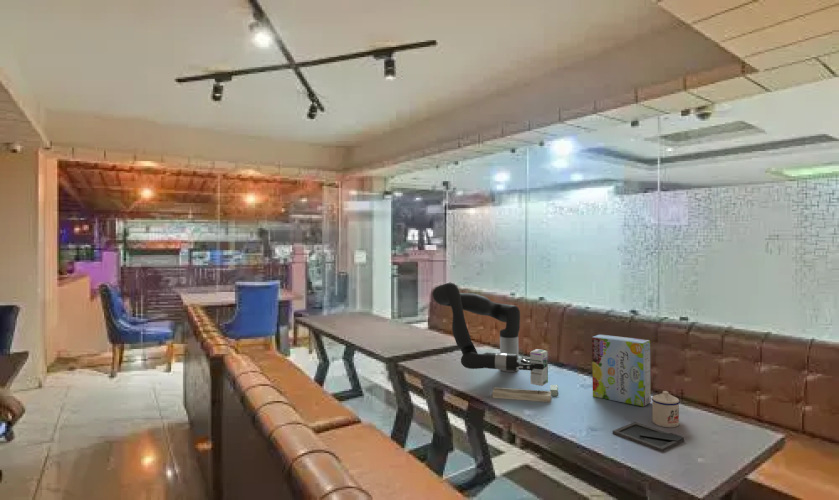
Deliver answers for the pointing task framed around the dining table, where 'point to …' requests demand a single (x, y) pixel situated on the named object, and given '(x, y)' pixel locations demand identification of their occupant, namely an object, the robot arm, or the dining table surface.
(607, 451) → the dining table surface
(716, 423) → the dining table surface
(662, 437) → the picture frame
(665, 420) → the teacup with lid
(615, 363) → the snack box
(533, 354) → the syrup box
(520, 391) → the birch board
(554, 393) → the stop block
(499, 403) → the dining table surface
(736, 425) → the dining table surface
